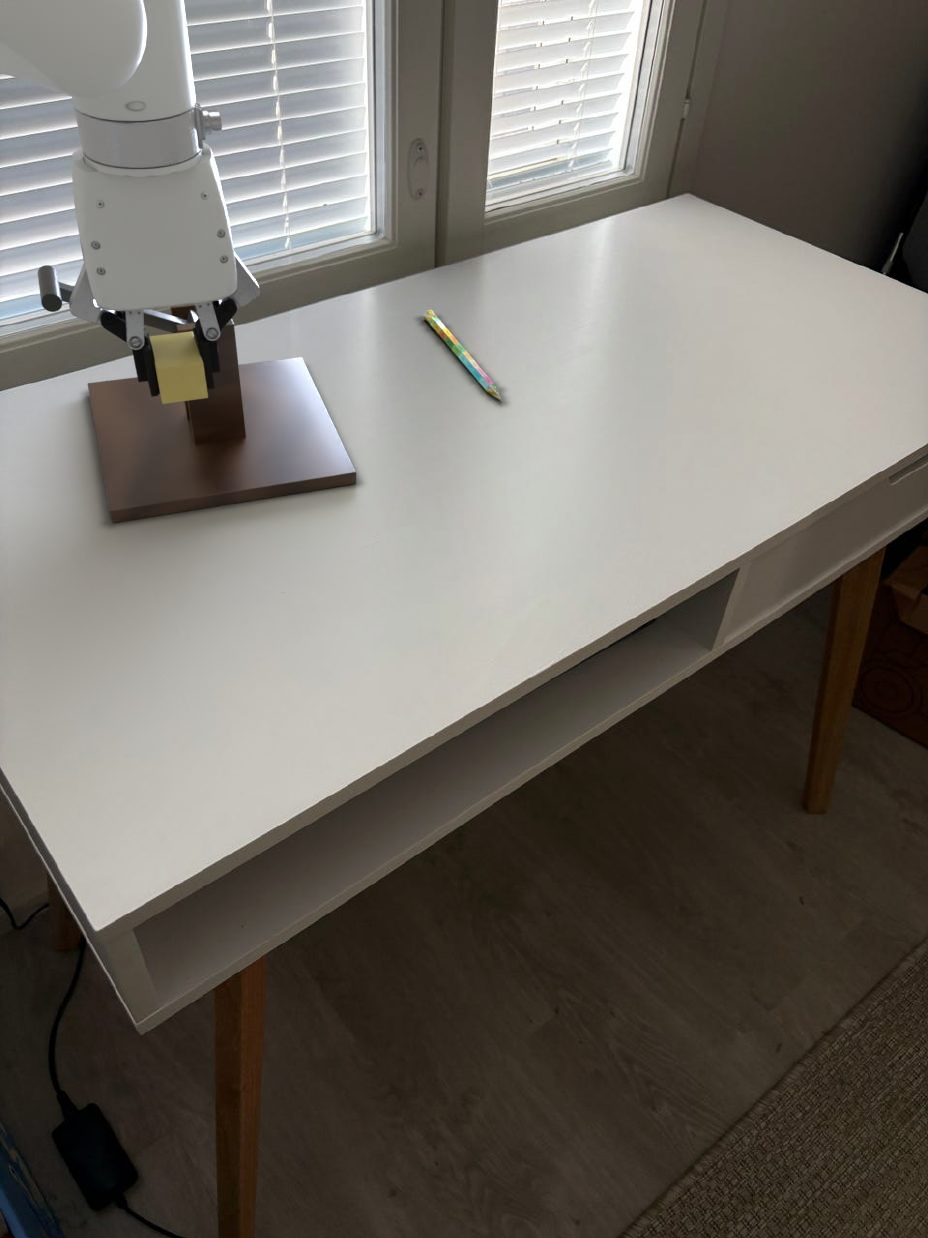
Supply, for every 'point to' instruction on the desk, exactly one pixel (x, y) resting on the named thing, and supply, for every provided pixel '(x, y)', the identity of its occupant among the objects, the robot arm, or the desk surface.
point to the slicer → (216, 437)
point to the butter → (179, 367)
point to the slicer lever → (59, 292)
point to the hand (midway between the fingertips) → (180, 381)
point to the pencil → (461, 354)
